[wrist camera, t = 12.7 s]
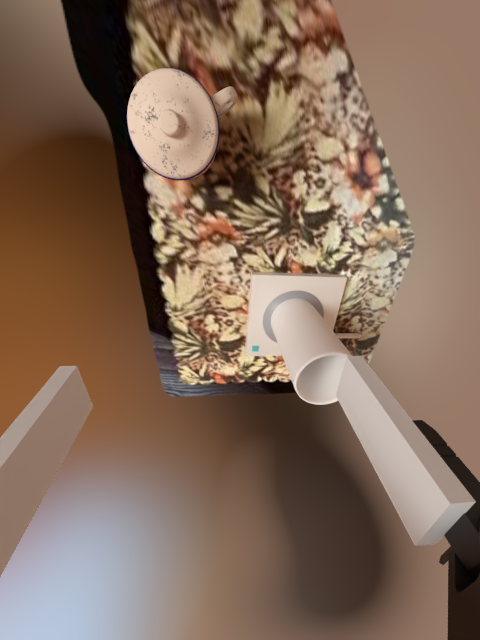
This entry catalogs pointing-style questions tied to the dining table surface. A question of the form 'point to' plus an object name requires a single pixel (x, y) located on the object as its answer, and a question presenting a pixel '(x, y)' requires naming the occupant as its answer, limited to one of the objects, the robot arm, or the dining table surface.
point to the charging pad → (285, 286)
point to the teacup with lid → (176, 122)
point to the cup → (309, 350)
